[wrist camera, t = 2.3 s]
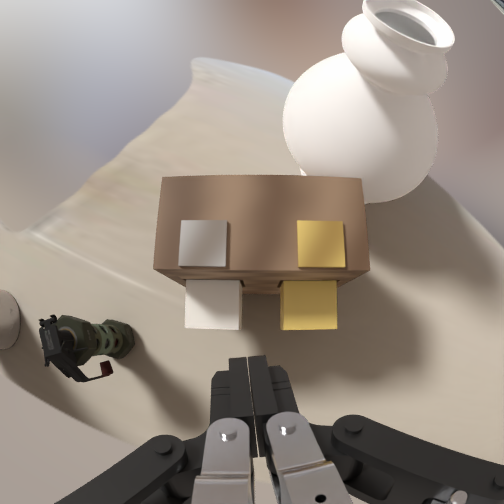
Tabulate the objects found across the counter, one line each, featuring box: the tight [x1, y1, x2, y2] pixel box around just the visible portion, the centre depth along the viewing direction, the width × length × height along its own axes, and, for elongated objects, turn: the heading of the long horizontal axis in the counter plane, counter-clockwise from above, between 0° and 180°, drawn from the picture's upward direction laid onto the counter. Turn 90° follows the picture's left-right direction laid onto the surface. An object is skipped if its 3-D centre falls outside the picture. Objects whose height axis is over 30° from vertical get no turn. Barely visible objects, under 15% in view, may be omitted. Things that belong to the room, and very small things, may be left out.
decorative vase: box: [283, 0, 455, 204], centre depth 28 cm, size 18×18×25 cm
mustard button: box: [280, 280, 337, 330], centre depth 28 cm, size 4×6×4 cm
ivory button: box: [185, 279, 242, 330], centre depth 28 cm, size 4×6×4 cm
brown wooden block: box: [153, 175, 370, 294], centre depth 30 cm, size 15×7×16 cm, turn 89°
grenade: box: [39, 315, 135, 382], centre depth 28 cm, size 6×6×15 cm
